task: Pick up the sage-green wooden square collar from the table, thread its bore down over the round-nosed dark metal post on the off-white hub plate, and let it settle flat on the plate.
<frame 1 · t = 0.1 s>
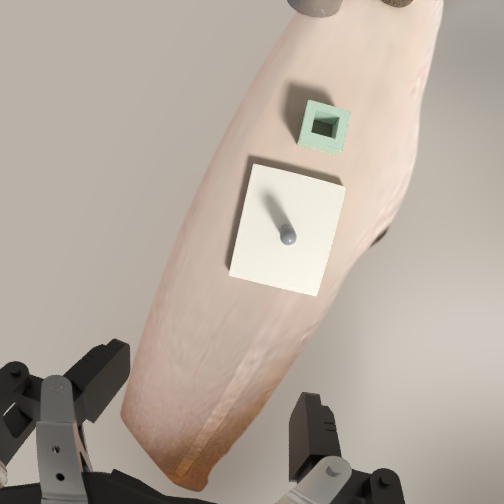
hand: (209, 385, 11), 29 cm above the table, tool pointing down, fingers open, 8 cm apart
hub plate: (286, 230, 38), on the table
vase: (390, 0, 27), on the table
collar: (320, 131, 35), on the table
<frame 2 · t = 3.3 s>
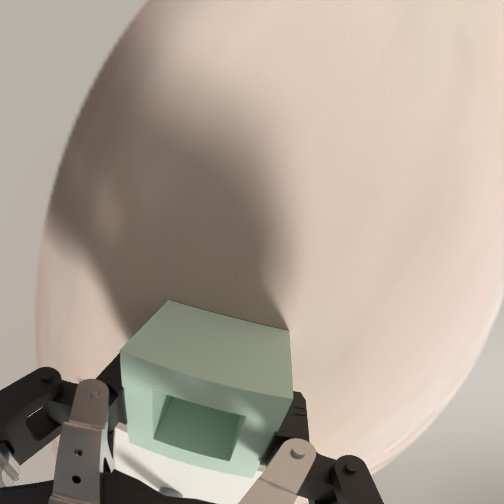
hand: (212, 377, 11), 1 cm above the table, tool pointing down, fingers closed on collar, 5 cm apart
hub plate: (175, 480, 16), on the table
collar: (217, 364, 12), on the table, touching gripper
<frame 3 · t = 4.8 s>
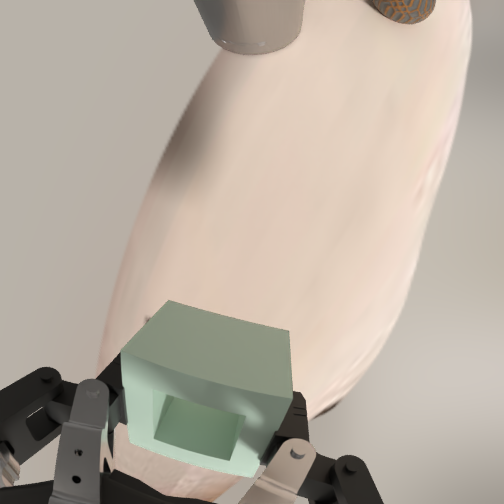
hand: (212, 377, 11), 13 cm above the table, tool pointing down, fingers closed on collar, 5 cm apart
vase: (392, 11, 17), on the table
collar: (217, 364, 12), point 12 cm above the table, touching gripper
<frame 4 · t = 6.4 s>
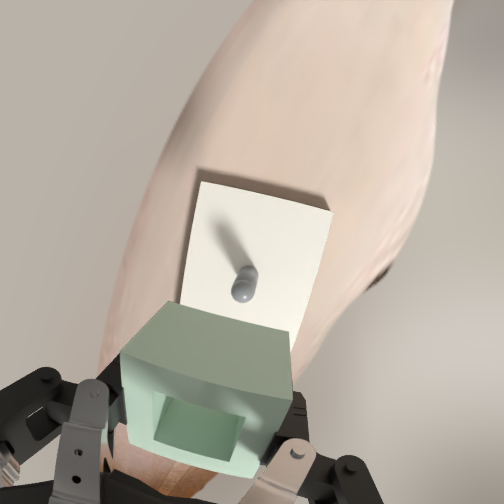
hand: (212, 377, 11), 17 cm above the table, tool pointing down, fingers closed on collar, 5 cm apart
hub plate: (250, 270, 28), on the table
collar: (217, 365, 12), point 16 cm above the table, touching gripper
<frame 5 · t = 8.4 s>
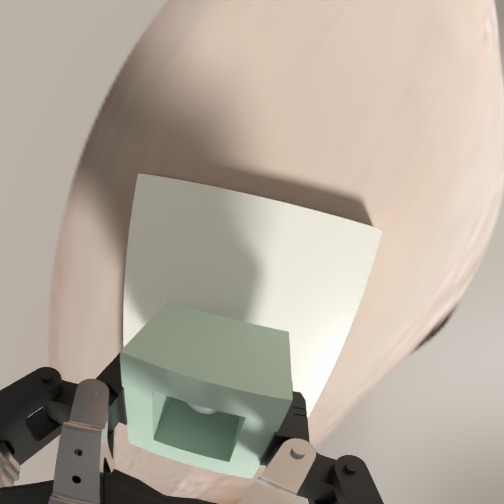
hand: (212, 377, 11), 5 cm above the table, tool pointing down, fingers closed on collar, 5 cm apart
hub plate: (229, 328, 16), on the table
collar: (217, 365, 12), point 4 cm above the table, touching gripper
when the fingers open (4 cm above the table, at t = 9.7 s): collar drops 2 cm, resting on hub plate.
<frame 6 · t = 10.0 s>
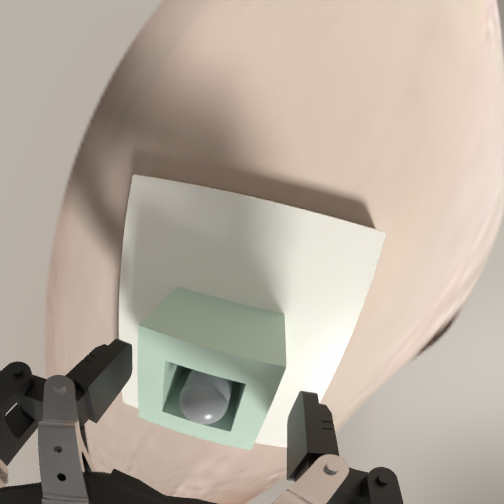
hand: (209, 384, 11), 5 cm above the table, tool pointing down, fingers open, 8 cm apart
hub plate: (228, 333, 16), on the table
collar: (220, 346, 14), point 1 cm above the table, touching hub plate
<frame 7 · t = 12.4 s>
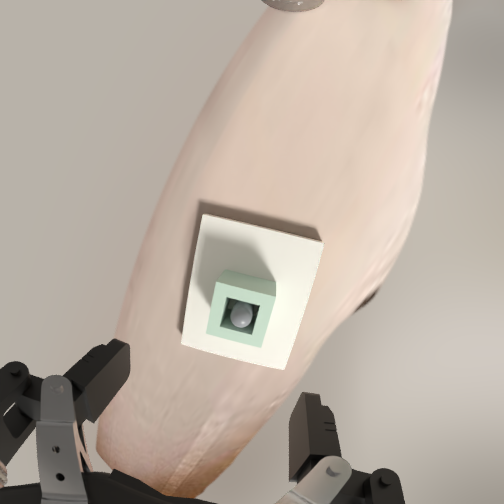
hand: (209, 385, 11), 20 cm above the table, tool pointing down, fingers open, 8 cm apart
hub plate: (247, 295, 31), on the table
collar: (244, 299, 29), point 1 cm above the table, touching hub plate
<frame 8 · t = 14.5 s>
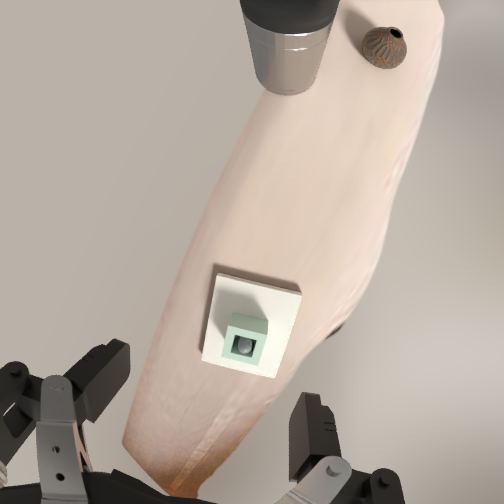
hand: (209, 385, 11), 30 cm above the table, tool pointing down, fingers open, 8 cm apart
hub plate: (248, 327, 43), on the table
vase: (377, 57, 32), on the table
collar: (246, 331, 41), point 1 cm above the table, touching hub plate
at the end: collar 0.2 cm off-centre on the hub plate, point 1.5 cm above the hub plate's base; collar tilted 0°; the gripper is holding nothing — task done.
